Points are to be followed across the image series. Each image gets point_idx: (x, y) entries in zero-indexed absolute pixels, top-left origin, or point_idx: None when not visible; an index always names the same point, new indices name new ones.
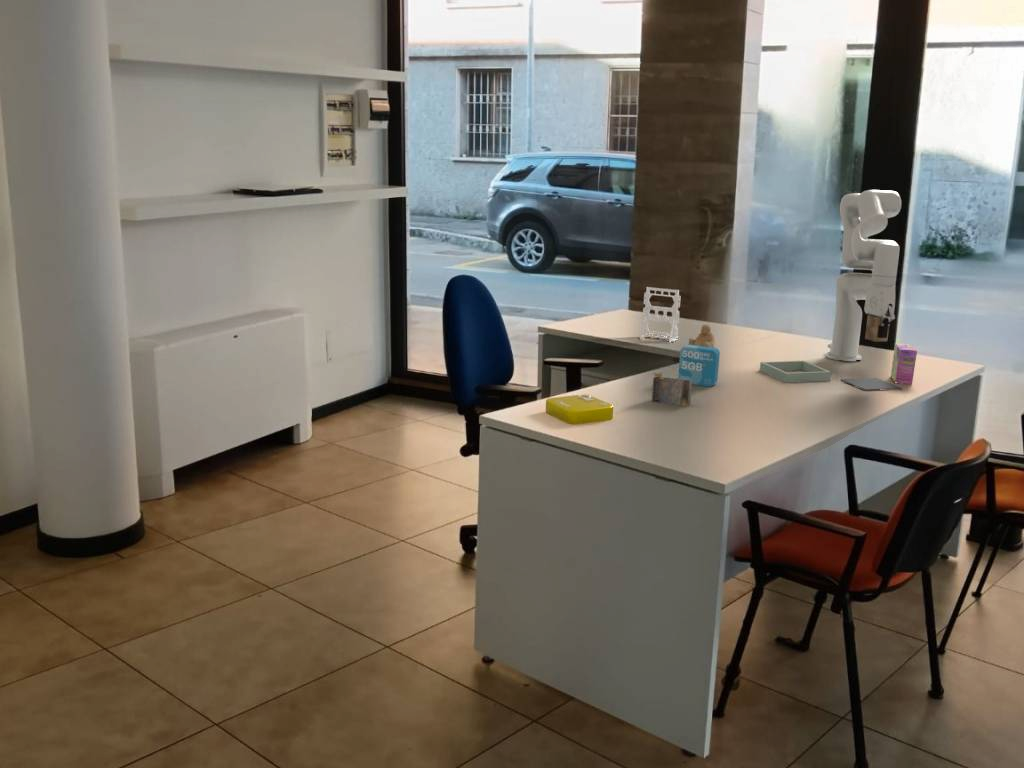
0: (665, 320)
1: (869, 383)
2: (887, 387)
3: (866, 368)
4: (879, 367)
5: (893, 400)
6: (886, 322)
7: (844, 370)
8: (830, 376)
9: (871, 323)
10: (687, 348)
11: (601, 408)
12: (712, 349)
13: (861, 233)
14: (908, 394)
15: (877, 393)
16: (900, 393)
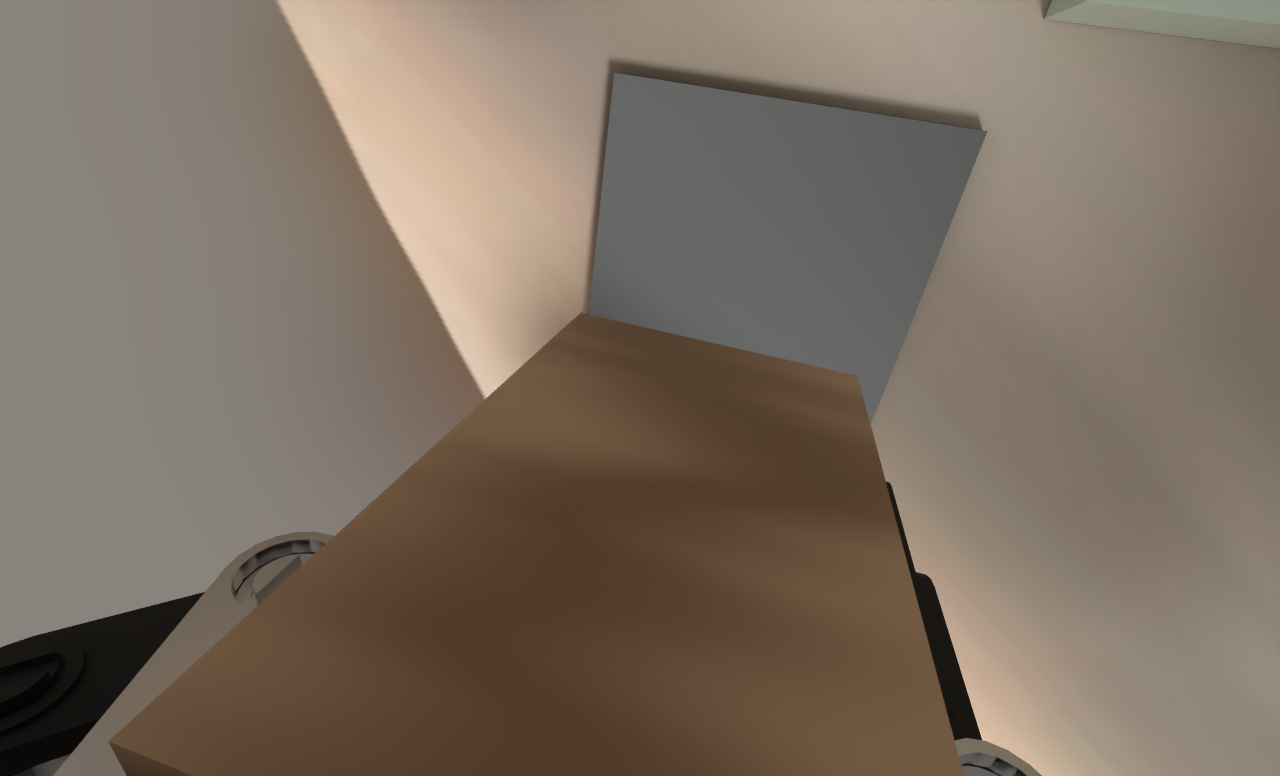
0: None
1: (749, 267)
2: (614, 301)
3: (1118, 633)
4: (1073, 709)
5: (360, 84)
6: (78, 632)
7: (1208, 459)
8: (1064, 8)
9: (640, 557)
10: None
11: None
12: None
13: None
14: (476, 316)
15: (536, 121)
16: (505, 288)
